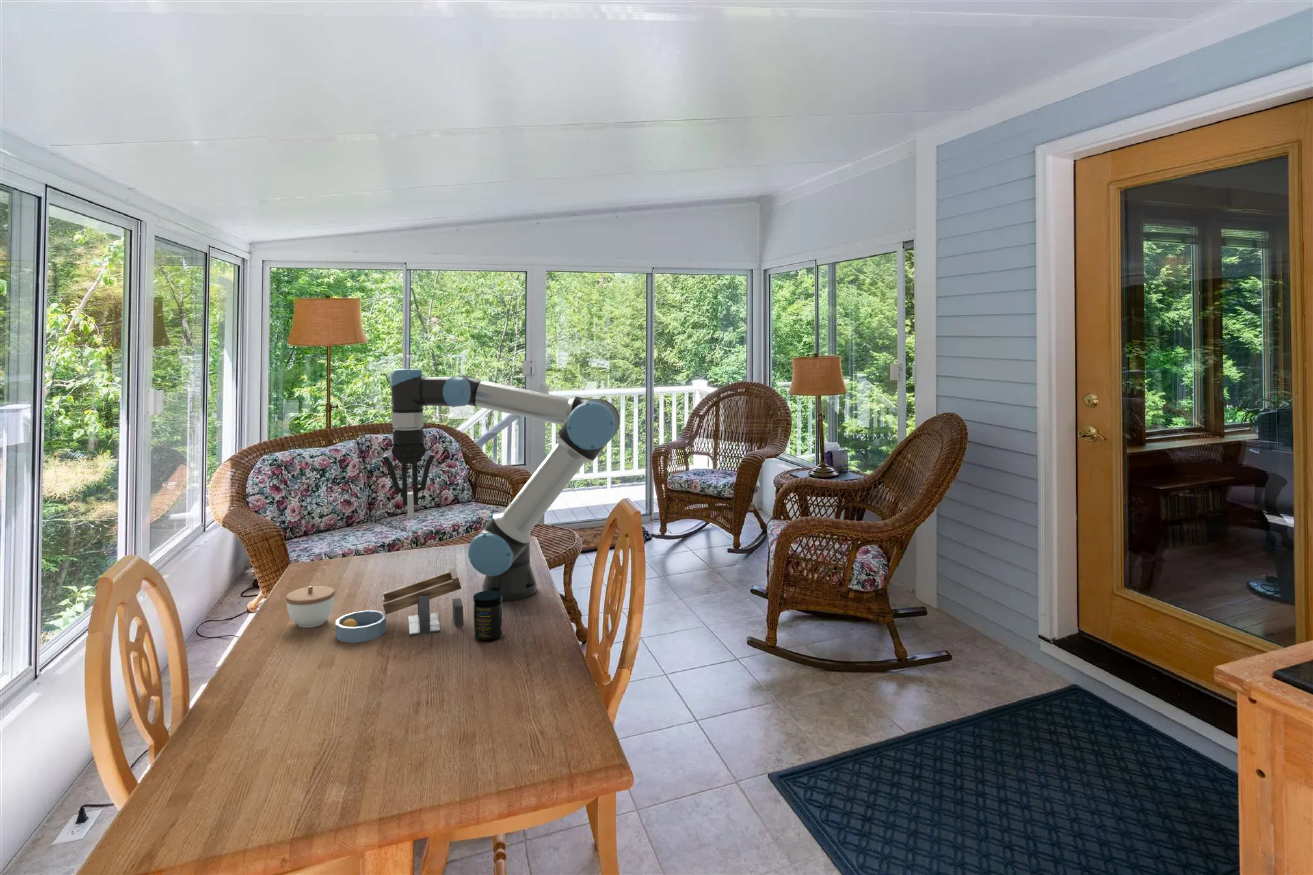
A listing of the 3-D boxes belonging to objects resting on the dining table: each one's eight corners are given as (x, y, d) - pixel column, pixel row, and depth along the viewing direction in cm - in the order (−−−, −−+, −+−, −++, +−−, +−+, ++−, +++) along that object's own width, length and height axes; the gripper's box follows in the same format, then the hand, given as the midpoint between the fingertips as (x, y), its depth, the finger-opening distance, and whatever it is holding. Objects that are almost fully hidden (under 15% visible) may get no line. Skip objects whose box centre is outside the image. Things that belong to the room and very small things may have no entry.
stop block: (460, 615, 172) (460, 598, 171) (463, 624, 166) (463, 605, 166) (452, 616, 171) (452, 598, 171) (455, 625, 166) (454, 606, 165)
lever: (456, 572, 177) (453, 561, 176) (461, 588, 164) (458, 577, 164) (384, 596, 170) (380, 585, 170) (383, 615, 158) (379, 603, 157)
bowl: (386, 621, 168) (385, 608, 167) (386, 638, 157) (385, 624, 157) (338, 627, 163) (337, 613, 163) (334, 645, 153) (334, 630, 153)
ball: (345, 615, 160) (340, 627, 160) (345, 619, 157) (339, 632, 157) (359, 618, 161) (354, 630, 161) (358, 623, 158) (353, 636, 158)
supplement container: (503, 641, 157) (502, 599, 155) (473, 644, 155) (473, 601, 154) (502, 630, 163) (501, 589, 162) (473, 633, 161) (473, 591, 160)
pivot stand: (437, 614, 172) (436, 580, 171) (440, 632, 161) (439, 595, 160) (408, 618, 170) (407, 583, 169) (409, 636, 159) (408, 599, 158)
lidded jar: (315, 633, 160) (313, 595, 159) (277, 629, 162) (275, 592, 161) (344, 616, 170) (343, 581, 169) (308, 613, 172) (306, 578, 171)
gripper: (433, 426, 178) (435, 512, 181) (381, 427, 173) (384, 516, 176) (435, 429, 171) (437, 518, 174) (380, 430, 167) (384, 522, 169)
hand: (410, 517), depth 175 cm, fingers closed
